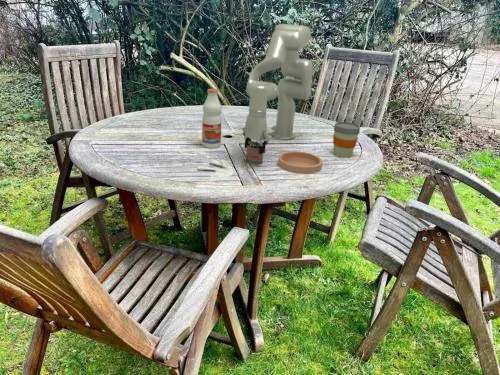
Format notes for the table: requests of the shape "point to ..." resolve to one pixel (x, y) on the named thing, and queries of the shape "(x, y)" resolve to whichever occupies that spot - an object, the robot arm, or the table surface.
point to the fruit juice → (211, 120)
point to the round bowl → (300, 162)
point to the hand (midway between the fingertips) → (254, 150)
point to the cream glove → (219, 173)
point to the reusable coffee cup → (345, 138)
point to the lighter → (254, 153)
